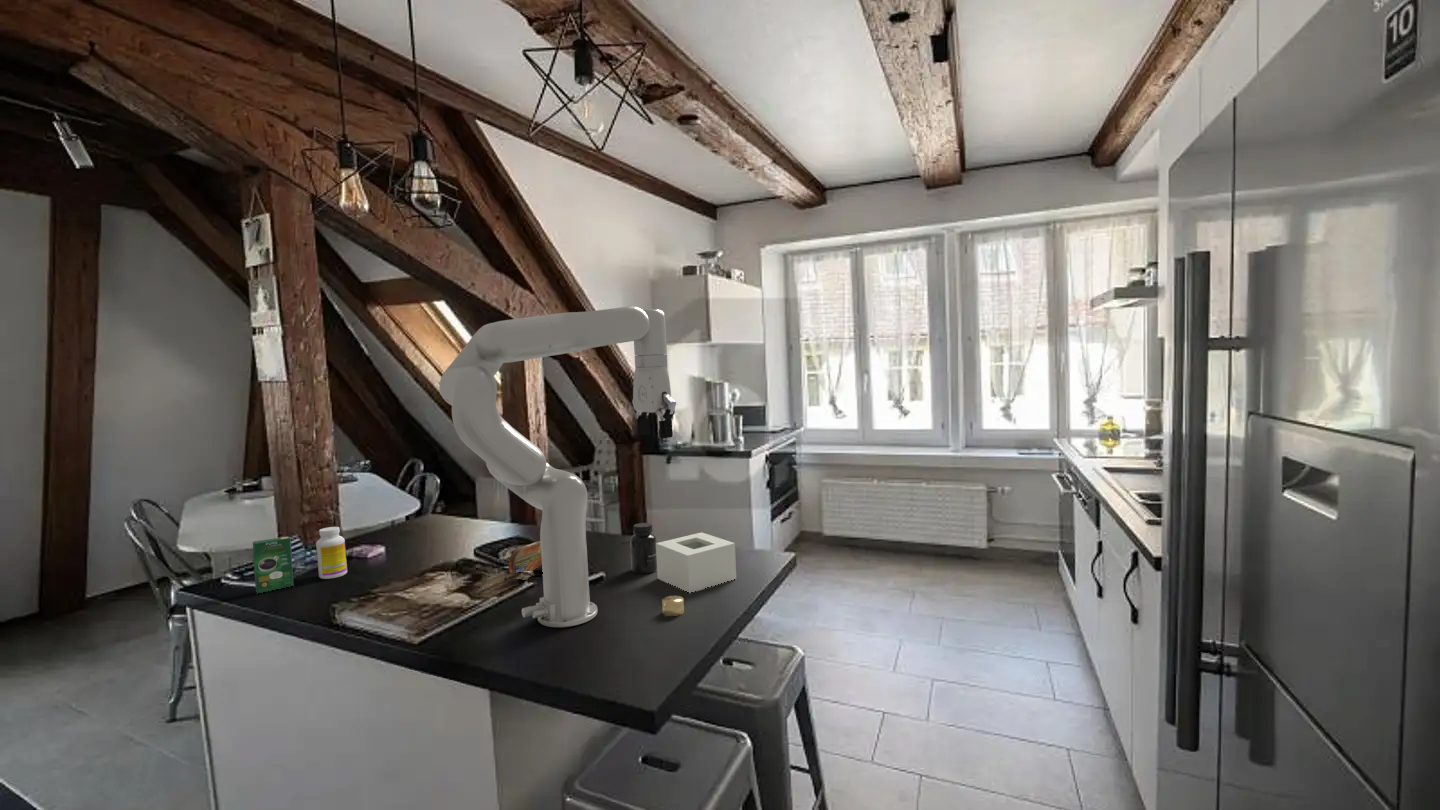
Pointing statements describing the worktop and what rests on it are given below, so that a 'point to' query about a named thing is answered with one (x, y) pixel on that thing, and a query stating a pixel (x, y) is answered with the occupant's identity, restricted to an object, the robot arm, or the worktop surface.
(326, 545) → the supplement bottle
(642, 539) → the supplement bottle
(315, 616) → the worktop surface
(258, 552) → the coffee box
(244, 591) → the worktop surface
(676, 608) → the gold short cylinder
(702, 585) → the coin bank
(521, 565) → the tin
